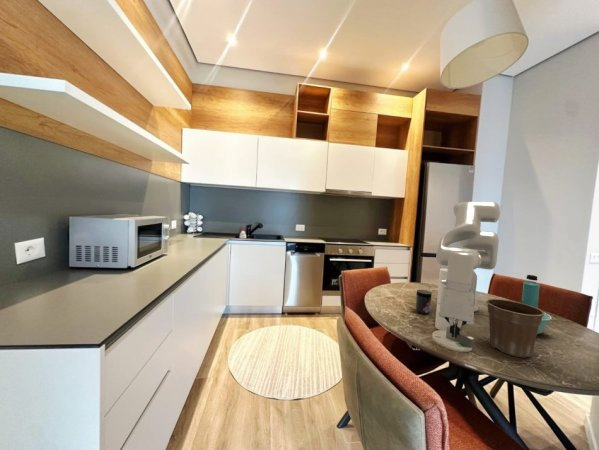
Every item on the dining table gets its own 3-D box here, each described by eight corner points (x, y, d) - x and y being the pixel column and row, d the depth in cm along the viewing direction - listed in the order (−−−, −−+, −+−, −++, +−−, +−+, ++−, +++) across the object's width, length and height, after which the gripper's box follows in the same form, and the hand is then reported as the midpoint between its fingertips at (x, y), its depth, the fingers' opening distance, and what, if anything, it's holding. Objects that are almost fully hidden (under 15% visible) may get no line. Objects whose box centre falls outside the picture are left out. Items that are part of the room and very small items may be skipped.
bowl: (539, 342, 99) (542, 321, 99) (494, 325, 113) (495, 307, 112) (556, 334, 106) (558, 315, 106) (511, 319, 120) (513, 302, 120)
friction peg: (443, 335, 96) (444, 327, 96) (450, 334, 98) (451, 325, 98) (467, 349, 87) (468, 339, 87) (475, 347, 89) (476, 337, 89)
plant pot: (477, 334, 103) (481, 295, 102) (527, 343, 97) (531, 303, 96) (490, 354, 88) (494, 309, 87) (549, 367, 82) (555, 319, 81)
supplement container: (420, 315, 120) (422, 294, 119) (412, 309, 127) (413, 289, 126) (433, 315, 121) (435, 294, 120) (424, 309, 128) (425, 289, 127)
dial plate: (427, 340, 96) (427, 336, 95) (439, 330, 104) (439, 327, 104) (466, 356, 86) (467, 351, 86) (476, 344, 95) (476, 339, 95)
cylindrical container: (451, 326, 110) (456, 269, 108) (456, 333, 103) (461, 273, 101) (433, 323, 112) (438, 267, 111) (436, 329, 105) (441, 271, 104)
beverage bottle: (540, 317, 125) (544, 277, 124) (525, 315, 127) (529, 276, 126) (531, 311, 132) (535, 274, 131) (516, 310, 133) (520, 273, 132)
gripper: (433, 284, 89) (429, 333, 91) (485, 293, 82) (480, 347, 83) (435, 279, 96) (431, 326, 97) (483, 287, 88) (478, 338, 89)
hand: (454, 335), depth 90 cm, fingers closed
